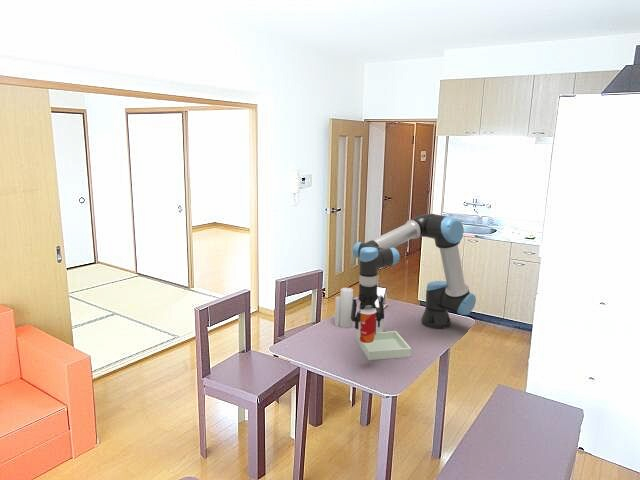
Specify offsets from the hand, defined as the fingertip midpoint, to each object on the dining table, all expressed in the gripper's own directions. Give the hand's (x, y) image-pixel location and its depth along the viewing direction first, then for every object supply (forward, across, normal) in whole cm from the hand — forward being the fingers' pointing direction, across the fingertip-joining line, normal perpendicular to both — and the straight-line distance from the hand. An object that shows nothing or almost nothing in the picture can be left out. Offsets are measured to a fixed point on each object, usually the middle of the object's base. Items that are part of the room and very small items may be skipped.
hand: (367, 334), depth 203 cm
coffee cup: (+3, 0, 0) cm, 3 cm away
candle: (+15, 0, -47) cm, 49 cm away
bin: (+15, -12, -15) cm, 24 cm away
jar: (+15, -14, -35) cm, 41 cm away
